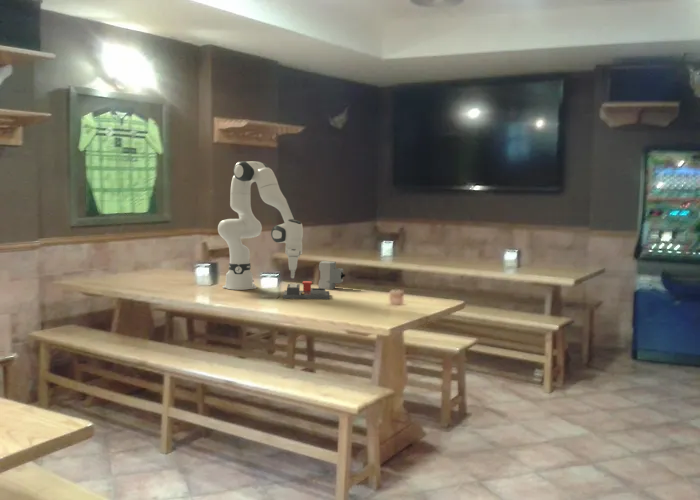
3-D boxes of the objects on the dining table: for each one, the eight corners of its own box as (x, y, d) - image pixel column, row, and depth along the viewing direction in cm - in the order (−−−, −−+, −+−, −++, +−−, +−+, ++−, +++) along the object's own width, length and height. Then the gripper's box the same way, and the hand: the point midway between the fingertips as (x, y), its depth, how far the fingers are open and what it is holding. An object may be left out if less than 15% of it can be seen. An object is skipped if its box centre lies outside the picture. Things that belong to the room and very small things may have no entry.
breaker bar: (290, 289, 366) (290, 283, 366) (297, 289, 367) (297, 283, 366) (289, 292, 356) (289, 286, 355) (296, 292, 356) (296, 286, 355)
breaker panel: (284, 294, 368) (284, 283, 368) (329, 294, 369) (329, 284, 369) (283, 298, 354) (283, 287, 354) (329, 299, 355) (329, 288, 355)
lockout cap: (302, 291, 377) (302, 281, 376) (311, 292, 377) (311, 281, 377) (302, 293, 372) (302, 282, 371) (311, 293, 372) (311, 282, 372)
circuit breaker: (342, 290, 387) (343, 263, 386) (318, 288, 390) (318, 262, 388) (345, 288, 394) (346, 262, 393) (321, 286, 397) (322, 261, 396)
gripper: (288, 248, 369) (287, 273, 371) (286, 252, 349) (286, 279, 351) (300, 248, 370) (299, 273, 371) (299, 253, 349) (298, 280, 351)
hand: (292, 276), depth 361 cm, fingers open, 8 cm apart
